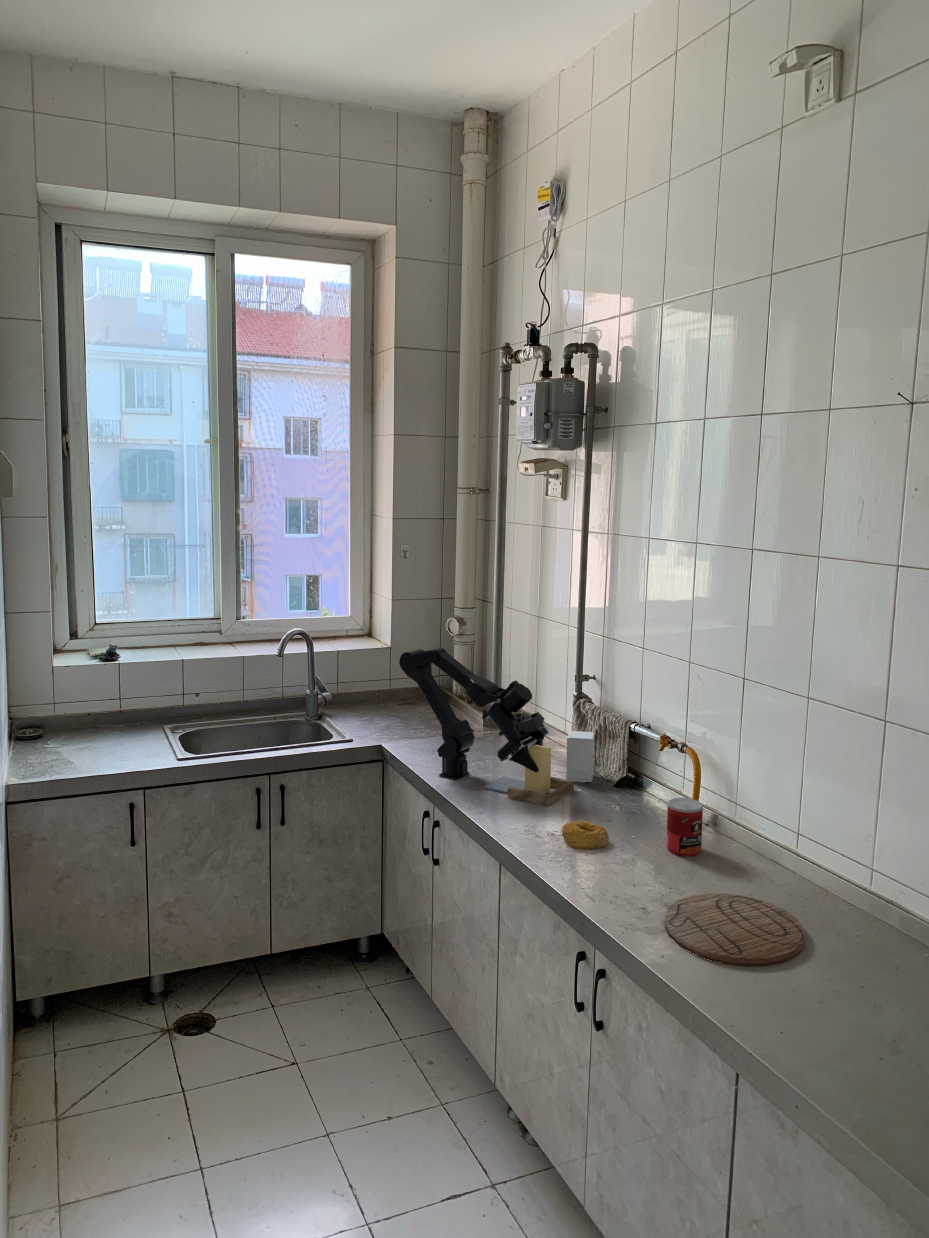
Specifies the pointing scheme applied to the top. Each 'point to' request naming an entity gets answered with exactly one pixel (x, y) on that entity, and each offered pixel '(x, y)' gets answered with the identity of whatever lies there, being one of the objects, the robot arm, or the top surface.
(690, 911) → the trivet
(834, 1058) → the top surface
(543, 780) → the ochre block
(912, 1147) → the top surface
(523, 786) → the slate mat
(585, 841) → the bagel
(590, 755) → the supplement box
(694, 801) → the canned food
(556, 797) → the frame
